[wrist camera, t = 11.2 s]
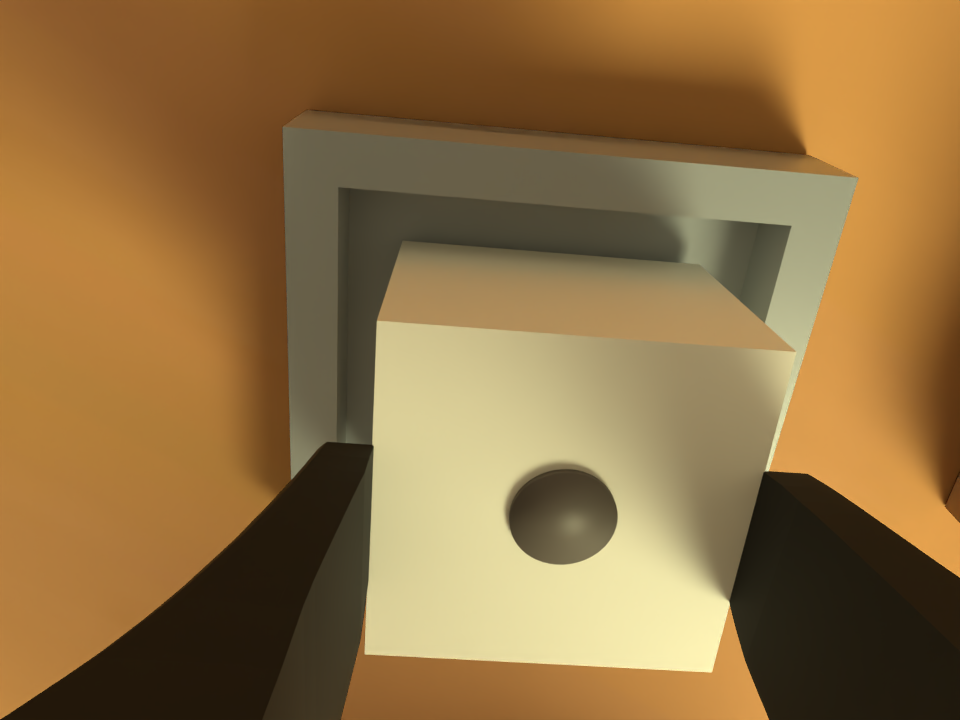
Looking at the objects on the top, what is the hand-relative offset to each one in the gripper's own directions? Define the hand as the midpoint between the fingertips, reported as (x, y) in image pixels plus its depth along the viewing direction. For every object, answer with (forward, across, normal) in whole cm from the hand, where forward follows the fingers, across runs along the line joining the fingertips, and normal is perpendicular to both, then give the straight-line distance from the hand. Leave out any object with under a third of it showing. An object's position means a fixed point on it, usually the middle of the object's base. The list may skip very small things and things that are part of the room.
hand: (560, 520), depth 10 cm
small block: (+4, 0, 0) cm, 4 cm away
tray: (+5, 0, 0) cm, 5 cm away
